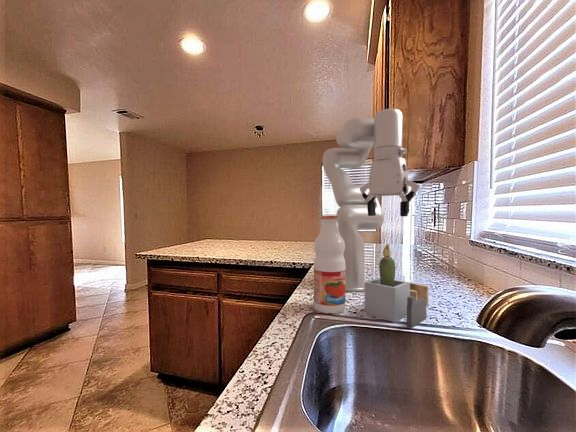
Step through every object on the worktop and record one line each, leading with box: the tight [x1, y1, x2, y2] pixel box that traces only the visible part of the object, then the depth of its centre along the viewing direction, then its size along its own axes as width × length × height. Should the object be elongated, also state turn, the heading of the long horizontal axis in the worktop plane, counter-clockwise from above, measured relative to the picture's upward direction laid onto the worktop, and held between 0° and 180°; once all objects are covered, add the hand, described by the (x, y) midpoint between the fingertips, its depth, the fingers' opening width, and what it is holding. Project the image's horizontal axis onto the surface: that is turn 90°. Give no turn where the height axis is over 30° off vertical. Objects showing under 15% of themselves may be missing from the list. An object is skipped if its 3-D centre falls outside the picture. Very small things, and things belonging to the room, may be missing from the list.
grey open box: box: [364, 277, 411, 323], centre depth 81 cm, size 9×9×9 cm
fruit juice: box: [313, 214, 346, 315], centre depth 85 cm, size 9×9×28 cm
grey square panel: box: [406, 296, 427, 329], centre depth 75 cm, size 1×9×8 cm, turn 134°
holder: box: [410, 282, 429, 307], centre depth 89 cm, size 11×9×6 cm
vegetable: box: [378, 243, 396, 287], centre depth 82 cm, size 4×4×20 cm
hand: (387, 216), depth 81 cm, fingers open, 9 cm apart
